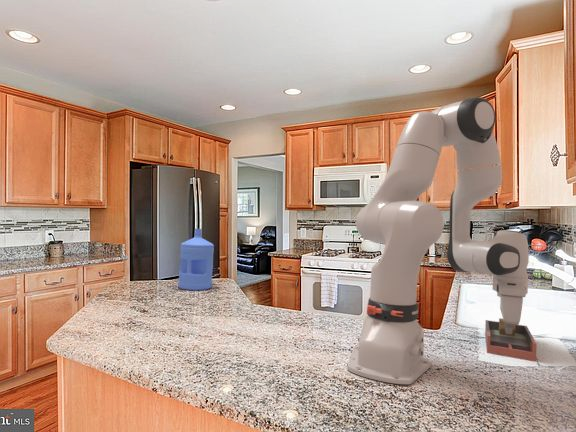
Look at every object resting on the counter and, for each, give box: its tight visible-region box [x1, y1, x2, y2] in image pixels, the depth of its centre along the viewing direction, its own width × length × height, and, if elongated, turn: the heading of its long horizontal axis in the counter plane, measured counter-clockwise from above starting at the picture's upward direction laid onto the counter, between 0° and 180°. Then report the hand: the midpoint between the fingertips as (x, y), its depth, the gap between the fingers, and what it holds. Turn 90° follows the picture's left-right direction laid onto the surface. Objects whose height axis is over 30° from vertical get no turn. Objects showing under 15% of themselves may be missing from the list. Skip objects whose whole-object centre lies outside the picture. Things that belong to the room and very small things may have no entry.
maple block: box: [498, 317, 515, 337], centre depth 109 cm, size 4×4×4 cm
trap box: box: [484, 319, 538, 362], centre depth 104 cm, size 20×11×4 cm, turn 153°
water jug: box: [177, 228, 215, 291], centre depth 172 cm, size 16×16×28 cm
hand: (508, 333), depth 106 cm, fingers closed
